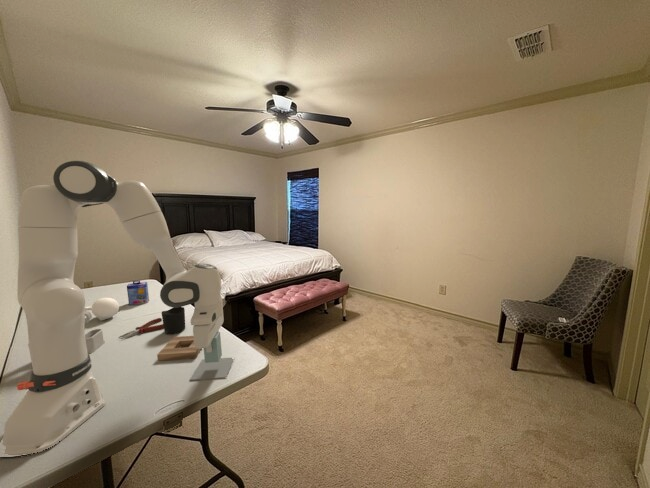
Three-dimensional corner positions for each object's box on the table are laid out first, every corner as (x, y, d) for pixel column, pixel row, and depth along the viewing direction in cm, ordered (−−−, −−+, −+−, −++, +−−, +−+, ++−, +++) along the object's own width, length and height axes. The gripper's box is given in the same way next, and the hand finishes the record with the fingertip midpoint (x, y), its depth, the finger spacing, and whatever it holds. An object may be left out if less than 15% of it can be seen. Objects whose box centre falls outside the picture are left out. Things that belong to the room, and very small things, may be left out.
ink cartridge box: (128, 305, 160) (125, 282, 158) (130, 302, 165) (127, 280, 163) (147, 302, 164) (145, 280, 162) (149, 300, 169) (146, 278, 167)
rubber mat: (226, 378, 90) (226, 376, 90) (189, 380, 89) (189, 379, 89) (234, 358, 102) (234, 357, 102) (202, 360, 101) (202, 359, 101)
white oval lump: (120, 321, 142) (109, 317, 150) (125, 298, 144) (113, 296, 152) (91, 322, 131) (80, 318, 139) (96, 298, 133) (85, 295, 141)
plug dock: (196, 358, 102) (195, 352, 102) (157, 360, 101) (157, 354, 101) (208, 340, 116) (207, 334, 116) (174, 342, 115) (174, 336, 115)
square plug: (218, 361, 93) (216, 337, 92) (204, 362, 93) (202, 338, 91) (221, 354, 98) (220, 331, 96) (209, 355, 97) (207, 332, 96)
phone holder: (107, 341, 117) (102, 302, 114) (92, 353, 107) (86, 311, 104) (60, 346, 113) (53, 306, 110) (41, 359, 103) (33, 315, 101)
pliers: (114, 337, 121) (113, 332, 121) (160, 321, 138) (160, 316, 138) (125, 344, 115) (125, 338, 115) (172, 326, 132) (172, 321, 132)
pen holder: (165, 328, 129) (163, 308, 128) (187, 324, 132) (185, 305, 131) (161, 336, 120) (159, 315, 119) (184, 333, 123) (182, 312, 122)
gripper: (209, 299, 102) (212, 333, 104) (188, 322, 82) (192, 364, 84) (226, 299, 103) (228, 332, 105) (209, 321, 83) (212, 362, 85)
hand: (212, 346), depth 94 cm, fingers closed on square plug, 4 cm apart
